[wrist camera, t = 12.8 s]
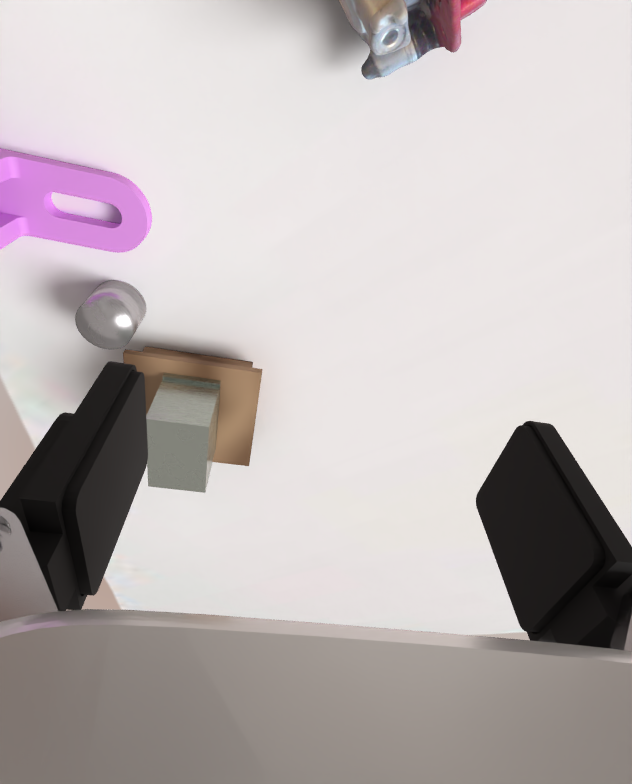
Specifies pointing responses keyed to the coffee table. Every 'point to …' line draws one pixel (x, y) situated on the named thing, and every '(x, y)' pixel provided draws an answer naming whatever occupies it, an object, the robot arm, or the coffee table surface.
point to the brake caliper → (406, 29)
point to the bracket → (43, 176)
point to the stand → (234, 393)
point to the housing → (182, 432)
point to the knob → (111, 314)
